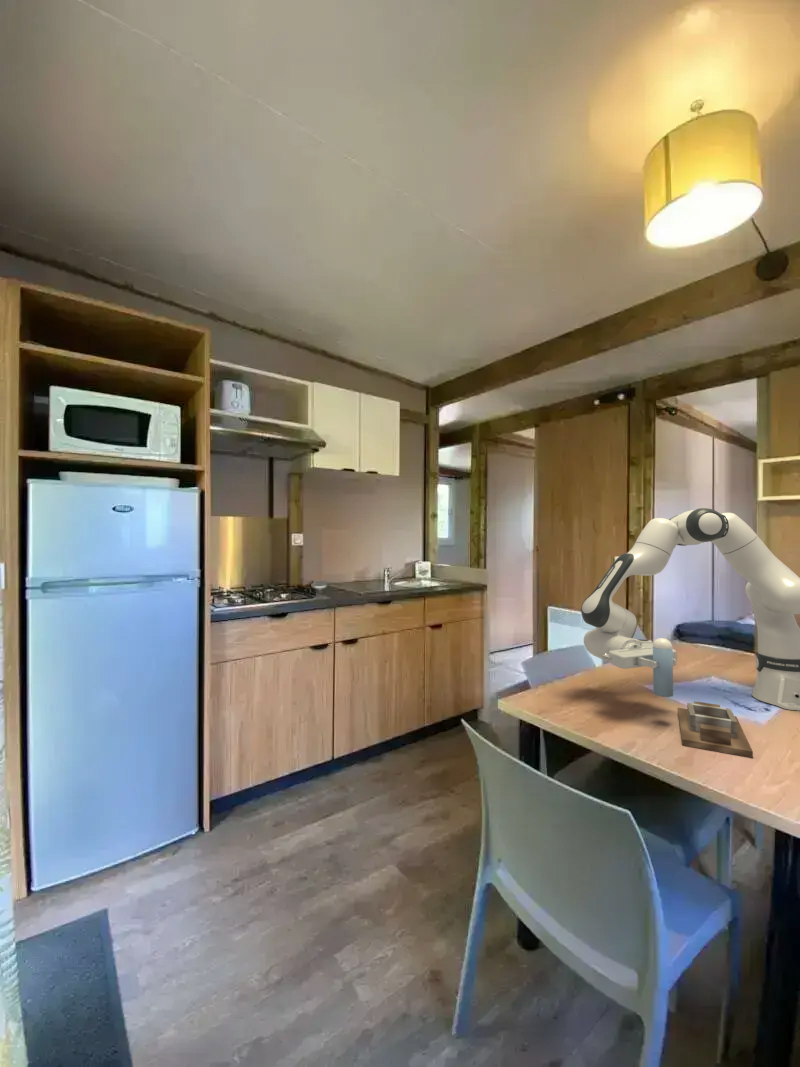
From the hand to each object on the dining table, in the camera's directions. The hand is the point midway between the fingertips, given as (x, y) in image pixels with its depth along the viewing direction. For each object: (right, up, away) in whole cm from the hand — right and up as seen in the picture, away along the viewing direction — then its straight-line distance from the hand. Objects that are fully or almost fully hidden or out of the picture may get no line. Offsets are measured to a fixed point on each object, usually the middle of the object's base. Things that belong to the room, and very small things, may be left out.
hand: (665, 664), depth 128 cm
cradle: (+8, -16, -6) cm, 19 cm away
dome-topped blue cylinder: (0, -9, +1) cm, 9 cm away
